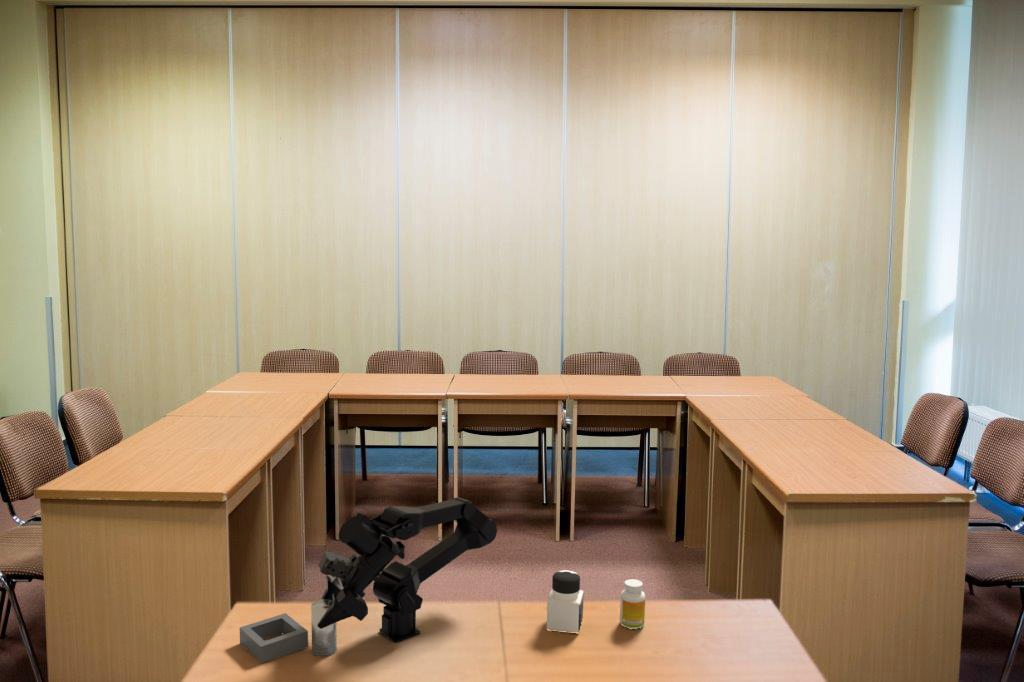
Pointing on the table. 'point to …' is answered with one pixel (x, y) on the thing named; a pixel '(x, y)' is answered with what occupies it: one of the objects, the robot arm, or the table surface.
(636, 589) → the supplement bottle
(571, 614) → the medicine bottle
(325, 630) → the steel shaft
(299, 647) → the grey square frame
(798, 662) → the table surface
